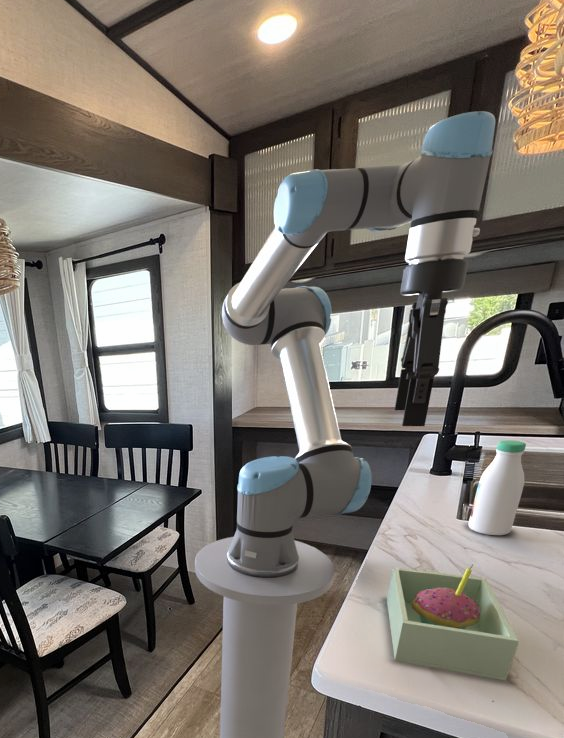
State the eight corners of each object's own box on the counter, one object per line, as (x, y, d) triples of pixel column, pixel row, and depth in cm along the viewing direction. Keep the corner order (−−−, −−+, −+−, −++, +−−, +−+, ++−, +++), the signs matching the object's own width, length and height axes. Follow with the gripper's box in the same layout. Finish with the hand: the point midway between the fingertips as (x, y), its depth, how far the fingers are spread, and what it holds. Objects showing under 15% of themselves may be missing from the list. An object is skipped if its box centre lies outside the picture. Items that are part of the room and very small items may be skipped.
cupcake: (457, 618, 76) (474, 551, 71) (485, 650, 68) (507, 578, 63) (399, 616, 77) (412, 551, 73) (420, 647, 70) (437, 577, 65)
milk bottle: (519, 534, 103) (546, 444, 95) (485, 537, 102) (510, 447, 94) (491, 521, 110) (514, 437, 102) (459, 524, 109) (480, 440, 101)
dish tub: (386, 600, 83) (392, 567, 80) (476, 612, 78) (486, 578, 75) (394, 660, 69) (402, 622, 66) (505, 681, 63) (519, 641, 61)
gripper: (492, 246, 52) (451, 434, 61) (452, 265, 73) (425, 404, 81) (414, 255, 55) (385, 433, 64) (397, 271, 76) (376, 404, 84)
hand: (408, 417), depth 73 cm, fingers open, 13 cm apart
